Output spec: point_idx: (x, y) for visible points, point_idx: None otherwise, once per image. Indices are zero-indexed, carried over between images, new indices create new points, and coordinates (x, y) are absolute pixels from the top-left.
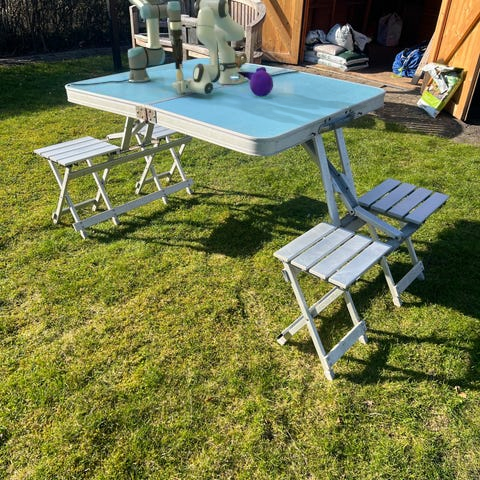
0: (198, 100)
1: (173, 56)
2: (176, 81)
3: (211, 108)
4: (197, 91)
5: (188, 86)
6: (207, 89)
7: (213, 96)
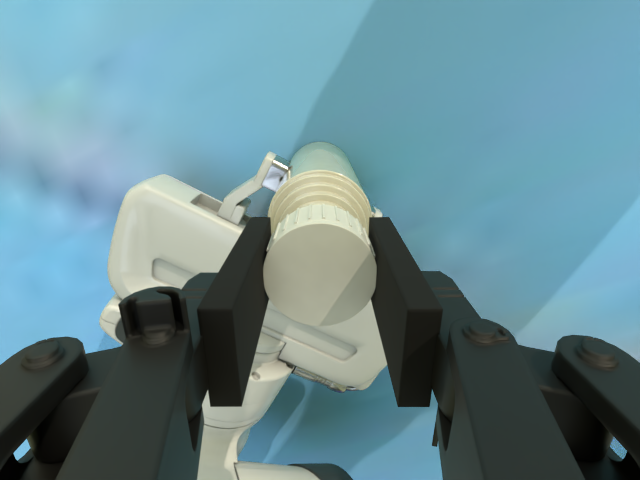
0: None
1: (3, 385)
2: (296, 162)
3: None
4: None
5: None
6: None
7: (270, 412)
